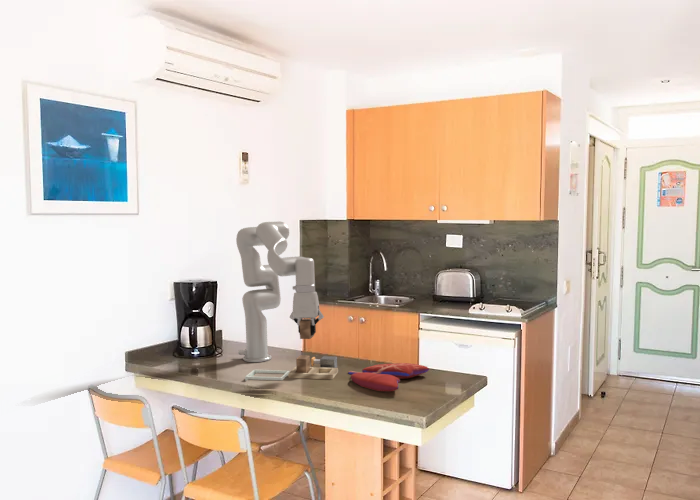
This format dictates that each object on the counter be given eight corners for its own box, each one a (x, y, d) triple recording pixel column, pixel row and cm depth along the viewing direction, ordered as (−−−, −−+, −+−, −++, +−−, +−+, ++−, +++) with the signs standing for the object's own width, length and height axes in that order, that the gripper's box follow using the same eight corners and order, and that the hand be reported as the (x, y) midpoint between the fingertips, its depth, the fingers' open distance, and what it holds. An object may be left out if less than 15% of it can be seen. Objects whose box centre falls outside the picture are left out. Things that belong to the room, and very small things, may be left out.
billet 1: (300, 338, 239) (299, 321, 238) (304, 335, 245) (303, 318, 244) (309, 339, 238) (309, 321, 238) (314, 335, 244) (313, 318, 243)
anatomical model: (431, 381, 242) (365, 375, 258) (430, 363, 242) (365, 358, 258) (396, 395, 216) (326, 388, 232) (396, 375, 216) (326, 369, 232)
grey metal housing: (320, 372, 251) (320, 359, 250) (323, 369, 256) (322, 356, 255) (334, 372, 250) (334, 359, 249) (337, 369, 255) (336, 356, 254)
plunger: (311, 366, 252) (311, 359, 252) (313, 363, 256) (313, 356, 255) (322, 366, 251) (322, 359, 251) (324, 364, 255) (324, 357, 255)
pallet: (288, 380, 240) (288, 373, 240) (295, 373, 251) (295, 366, 251) (332, 382, 237) (332, 375, 236) (338, 374, 247) (338, 367, 247)
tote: (245, 382, 240) (244, 376, 239) (254, 375, 250) (253, 369, 249) (282, 383, 237) (282, 377, 237) (289, 376, 247) (289, 370, 247)
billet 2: (296, 376, 242) (296, 358, 241) (300, 372, 248) (300, 355, 247) (306, 376, 241) (305, 359, 241) (310, 372, 247) (309, 355, 246)
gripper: (282, 290, 238) (284, 336, 240) (323, 290, 235) (325, 337, 236) (288, 288, 246) (290, 332, 247) (328, 287, 242) (329, 333, 243)
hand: (307, 334), depth 241 cm, fingers closed on billet 1, 4 cm apart
